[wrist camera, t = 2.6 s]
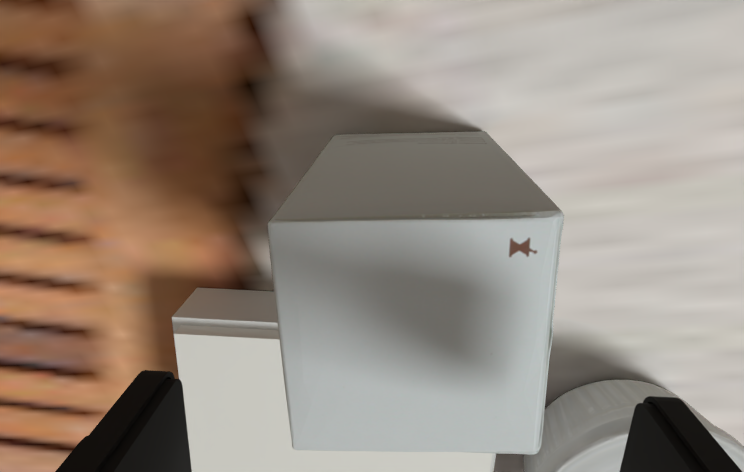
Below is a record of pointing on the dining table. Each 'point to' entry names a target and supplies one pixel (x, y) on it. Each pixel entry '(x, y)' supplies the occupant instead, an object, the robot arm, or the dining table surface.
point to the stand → (261, 396)
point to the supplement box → (416, 296)
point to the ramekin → (602, 428)
